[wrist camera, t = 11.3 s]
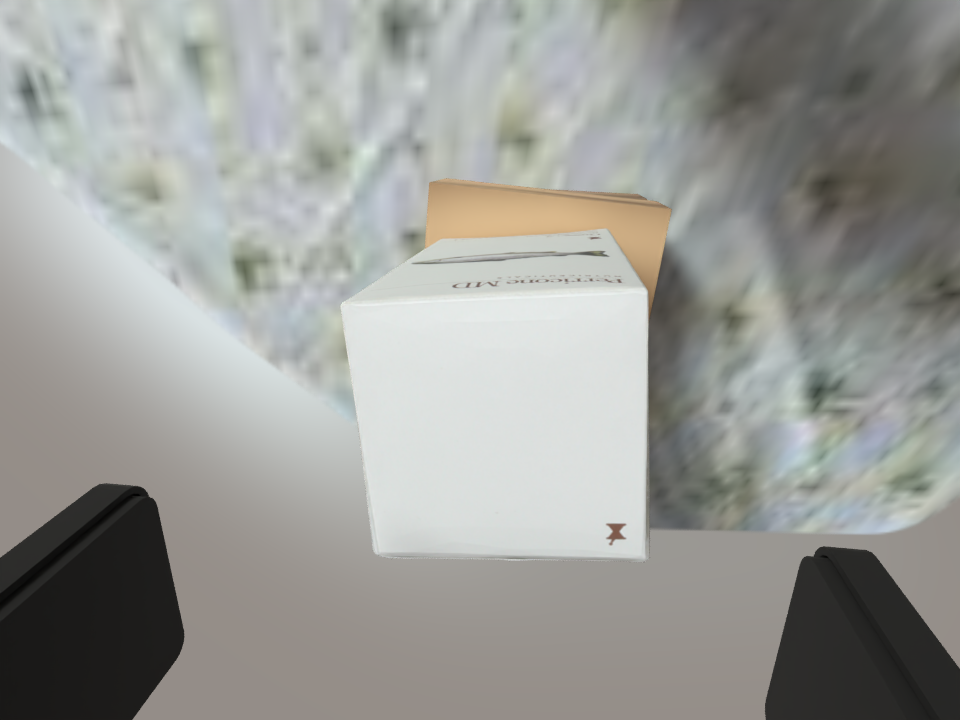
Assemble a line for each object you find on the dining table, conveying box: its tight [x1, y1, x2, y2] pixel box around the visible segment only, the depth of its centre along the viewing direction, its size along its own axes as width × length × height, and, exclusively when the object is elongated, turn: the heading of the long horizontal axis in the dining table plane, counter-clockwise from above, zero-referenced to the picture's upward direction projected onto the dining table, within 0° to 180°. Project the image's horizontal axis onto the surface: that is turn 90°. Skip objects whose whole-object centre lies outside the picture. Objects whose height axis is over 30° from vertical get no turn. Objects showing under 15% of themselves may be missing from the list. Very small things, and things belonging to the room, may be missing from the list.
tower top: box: [425, 178, 672, 324], centre depth 28 cm, size 10×10×4 cm
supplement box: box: [340, 228, 650, 562], centre depth 20 cm, size 7×7×13 cm
